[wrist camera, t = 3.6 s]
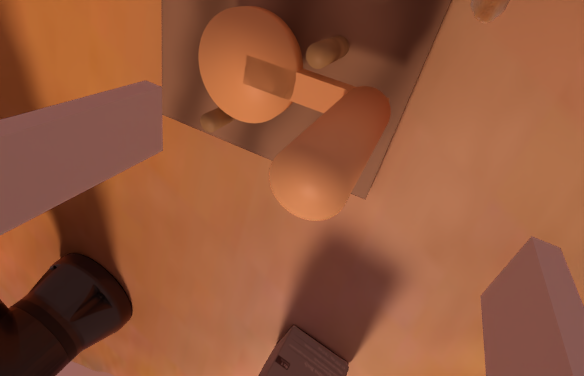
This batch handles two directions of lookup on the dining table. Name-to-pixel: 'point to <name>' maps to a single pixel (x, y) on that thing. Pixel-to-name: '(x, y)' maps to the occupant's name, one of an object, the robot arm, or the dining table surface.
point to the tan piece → (280, 95)
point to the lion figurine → (488, 9)
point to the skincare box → (302, 358)
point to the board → (305, 63)
